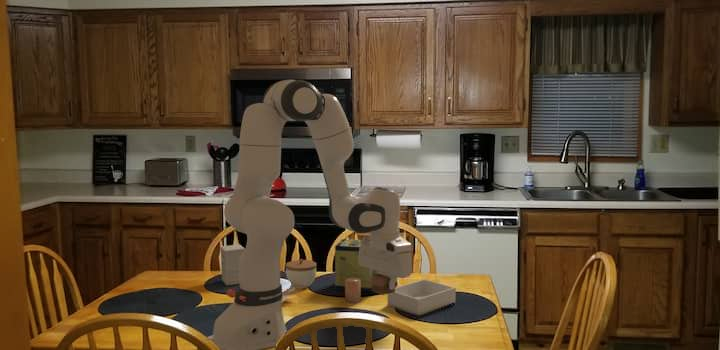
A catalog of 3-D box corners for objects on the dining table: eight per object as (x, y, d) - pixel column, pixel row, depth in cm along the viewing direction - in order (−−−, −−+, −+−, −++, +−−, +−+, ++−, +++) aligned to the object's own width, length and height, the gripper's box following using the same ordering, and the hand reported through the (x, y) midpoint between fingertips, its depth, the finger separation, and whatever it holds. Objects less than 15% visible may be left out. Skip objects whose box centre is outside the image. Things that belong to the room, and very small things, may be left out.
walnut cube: (382, 295, 190) (383, 278, 190) (371, 291, 194) (371, 275, 194) (394, 292, 194) (395, 275, 193) (383, 288, 197) (383, 272, 197)
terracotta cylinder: (352, 304, 203) (352, 283, 202) (342, 301, 207) (341, 280, 206) (363, 301, 206) (363, 280, 205) (353, 297, 210) (353, 277, 209)
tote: (455, 303, 204) (455, 287, 203) (418, 315, 193) (418, 299, 192) (424, 293, 214) (424, 279, 213) (387, 305, 202) (387, 289, 202)
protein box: (379, 292, 215) (379, 247, 213) (334, 290, 218) (334, 245, 216) (384, 283, 225) (384, 240, 223) (341, 281, 229) (341, 238, 227)
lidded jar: (323, 284, 225) (322, 257, 224) (304, 292, 216) (303, 264, 215) (298, 279, 231) (298, 253, 230) (279, 287, 222) (279, 260, 221)
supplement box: (241, 277, 234) (240, 243, 232) (246, 283, 227) (245, 248, 225) (221, 280, 231) (220, 245, 229) (225, 285, 224) (224, 250, 222)
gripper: (353, 236, 198) (352, 280, 199) (400, 248, 183) (399, 295, 184) (369, 234, 202) (367, 277, 204) (416, 245, 187) (414, 292, 188)
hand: (383, 286), depth 194 cm, fingers closed on walnut cube, 5 cm apart
